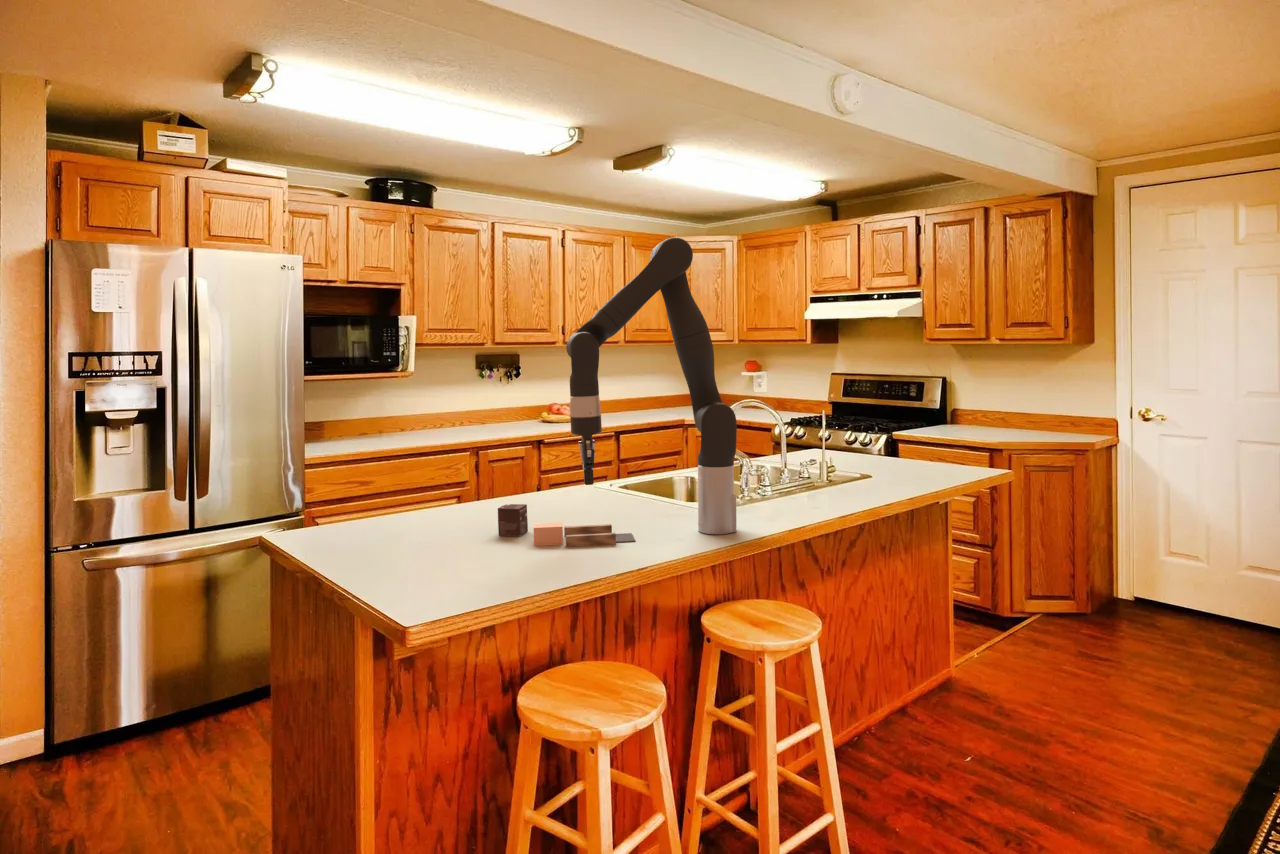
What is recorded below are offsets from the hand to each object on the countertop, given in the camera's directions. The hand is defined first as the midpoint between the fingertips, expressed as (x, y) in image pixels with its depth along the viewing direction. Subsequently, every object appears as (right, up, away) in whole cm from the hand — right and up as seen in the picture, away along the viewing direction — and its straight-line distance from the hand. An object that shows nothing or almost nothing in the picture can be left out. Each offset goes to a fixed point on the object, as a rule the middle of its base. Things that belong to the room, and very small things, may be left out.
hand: (589, 484), depth 187 cm
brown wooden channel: (0, -14, +1) cm, 14 cm away
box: (-20, -14, +10) cm, 26 cm away
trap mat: (+8, -14, +3) cm, 16 cm away
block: (-10, -15, 0) cm, 18 cm away
